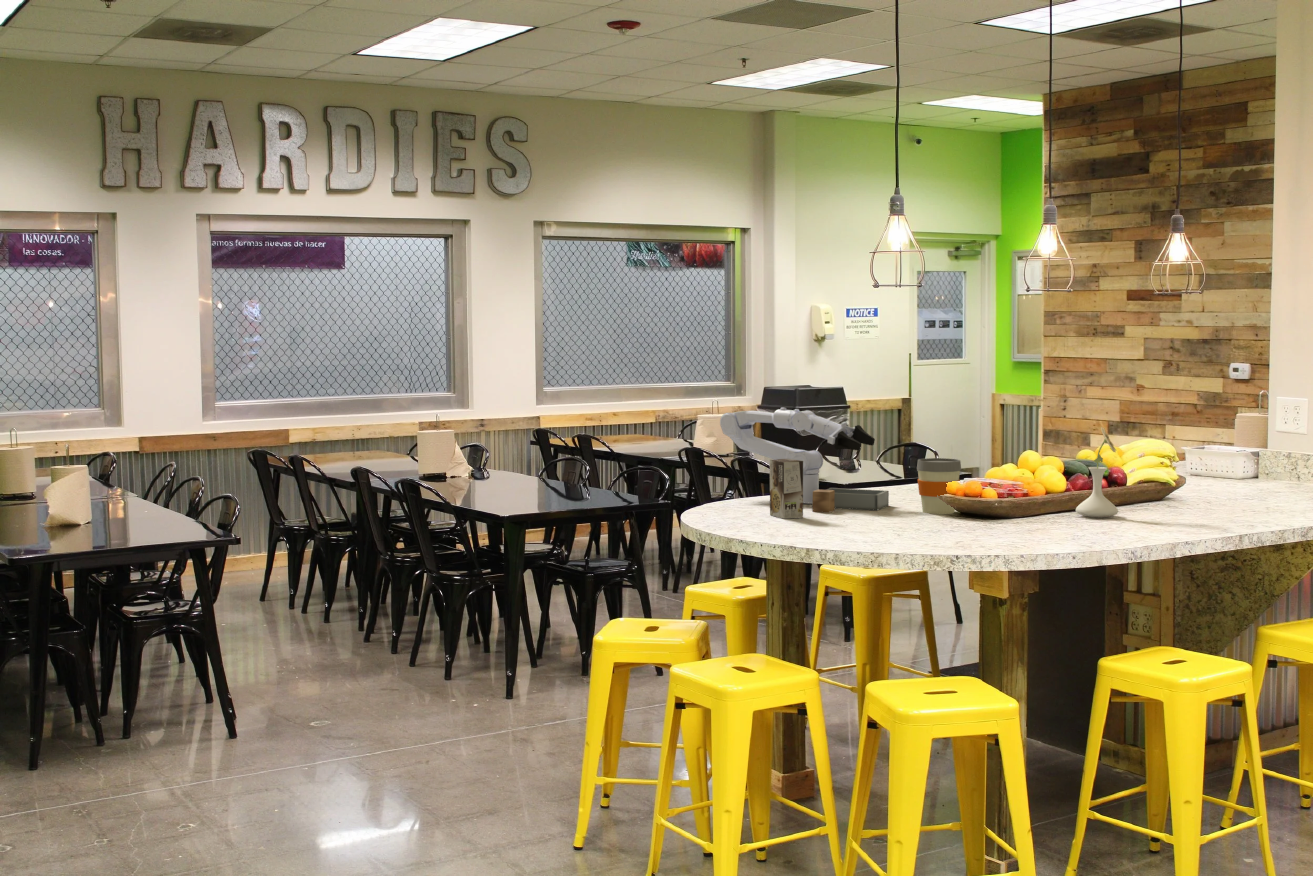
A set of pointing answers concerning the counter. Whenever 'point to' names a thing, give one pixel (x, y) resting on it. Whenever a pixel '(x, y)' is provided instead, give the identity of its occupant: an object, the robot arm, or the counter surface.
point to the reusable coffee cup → (936, 482)
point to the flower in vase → (1098, 490)
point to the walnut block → (823, 500)
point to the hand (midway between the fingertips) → (867, 444)
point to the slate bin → (860, 499)
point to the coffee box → (786, 488)
